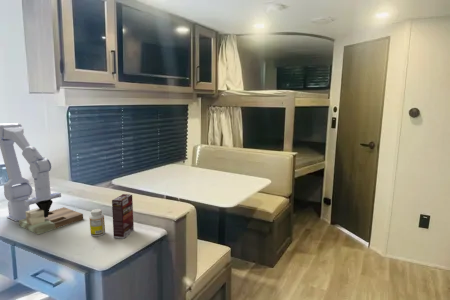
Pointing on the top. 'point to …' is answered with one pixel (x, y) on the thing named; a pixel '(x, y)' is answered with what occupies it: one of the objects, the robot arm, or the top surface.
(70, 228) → the top surface
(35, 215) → the cream block
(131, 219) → the supplement box
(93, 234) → the supplement bottle
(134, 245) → the top surface
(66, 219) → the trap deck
